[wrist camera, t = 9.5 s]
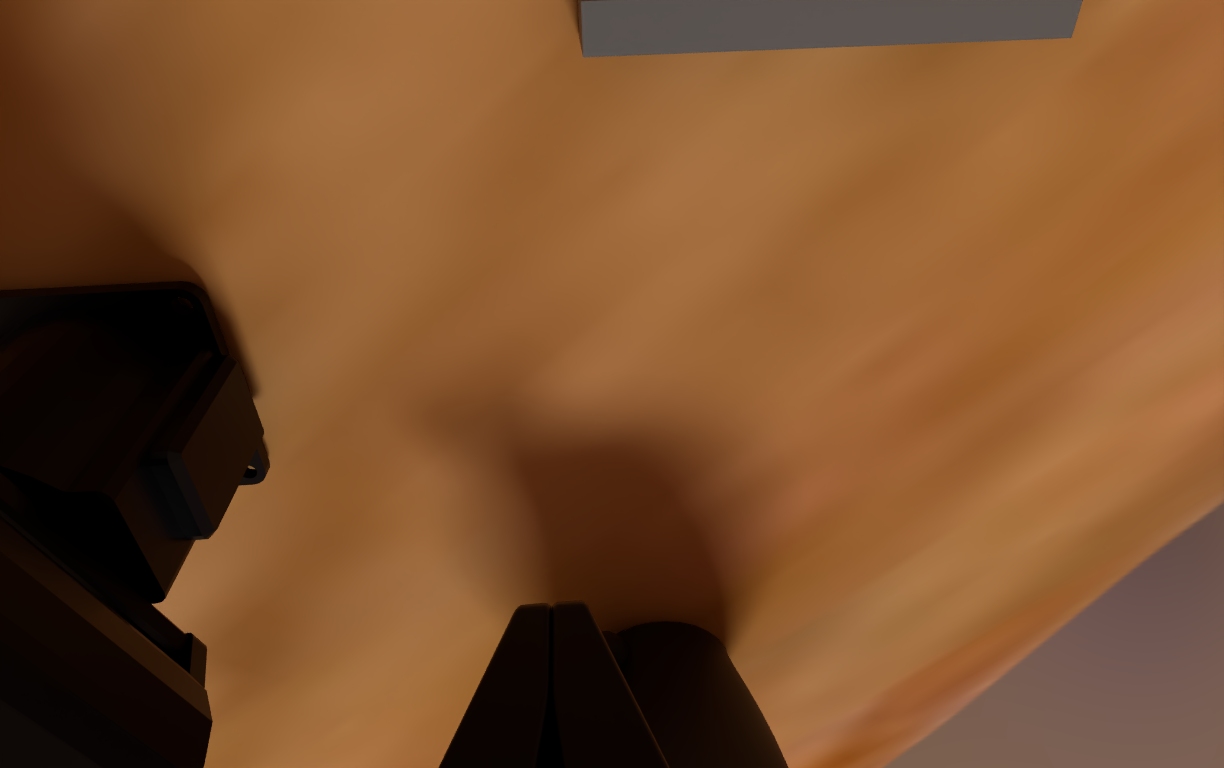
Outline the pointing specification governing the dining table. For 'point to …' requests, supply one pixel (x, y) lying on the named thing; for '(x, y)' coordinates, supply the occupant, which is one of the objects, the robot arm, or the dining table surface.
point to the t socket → (811, 23)
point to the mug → (693, 698)
